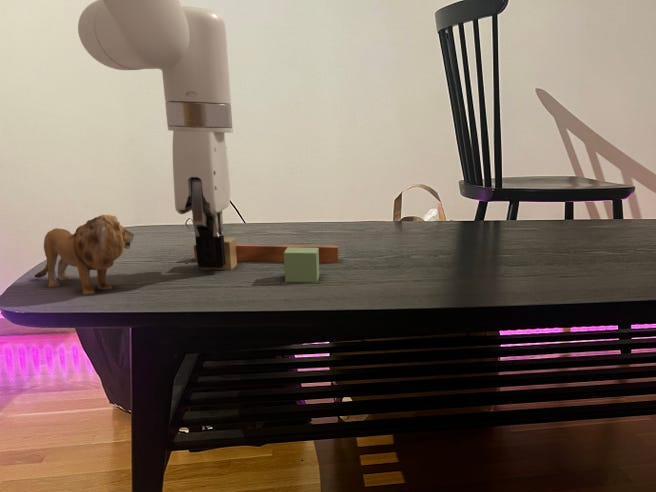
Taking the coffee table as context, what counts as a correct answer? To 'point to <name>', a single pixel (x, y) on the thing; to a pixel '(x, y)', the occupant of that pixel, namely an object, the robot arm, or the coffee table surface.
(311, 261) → the sage block
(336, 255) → the rail
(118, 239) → the lion figurine
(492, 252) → the coffee table surface
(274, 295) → the coffee table surface
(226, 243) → the maple block
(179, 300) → the coffee table surface
